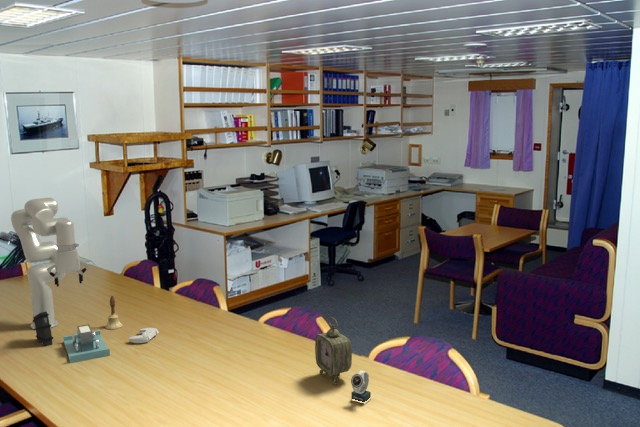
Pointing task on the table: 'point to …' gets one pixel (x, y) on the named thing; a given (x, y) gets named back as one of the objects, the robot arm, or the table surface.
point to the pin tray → (78, 355)
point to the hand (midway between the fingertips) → (69, 284)
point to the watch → (360, 386)
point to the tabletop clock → (333, 352)
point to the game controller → (144, 335)
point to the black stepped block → (43, 328)
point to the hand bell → (113, 317)
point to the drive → (85, 338)
